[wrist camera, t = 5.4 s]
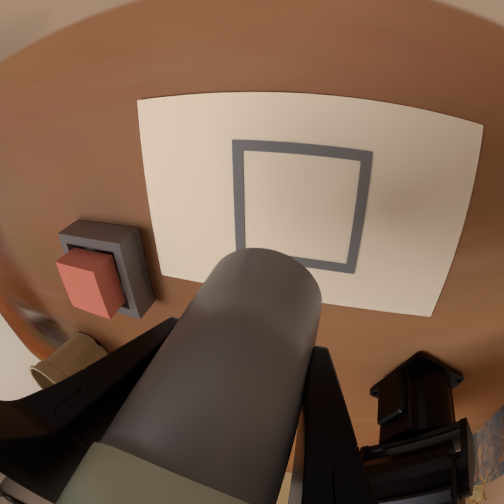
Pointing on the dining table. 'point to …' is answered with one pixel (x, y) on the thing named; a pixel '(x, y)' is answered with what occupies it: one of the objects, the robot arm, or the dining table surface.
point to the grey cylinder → (214, 395)
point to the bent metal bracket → (488, 455)
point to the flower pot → (67, 360)
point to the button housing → (116, 259)
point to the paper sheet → (311, 189)
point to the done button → (91, 281)
